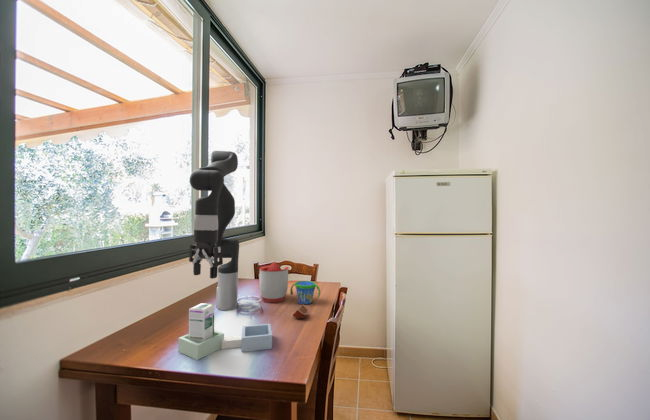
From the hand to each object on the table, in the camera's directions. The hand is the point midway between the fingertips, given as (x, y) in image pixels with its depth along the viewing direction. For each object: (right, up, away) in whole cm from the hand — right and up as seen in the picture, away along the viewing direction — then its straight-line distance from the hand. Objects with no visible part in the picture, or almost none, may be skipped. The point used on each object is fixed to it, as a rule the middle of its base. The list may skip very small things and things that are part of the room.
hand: (205, 276), depth 91 cm
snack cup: (+30, -26, +49) cm, 63 cm away
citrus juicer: (+14, -26, +54) cm, 61 cm away
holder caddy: (+7, -24, +1) cm, 25 cm away
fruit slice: (+30, -26, +28) cm, 48 cm away
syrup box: (-1, -25, -1) cm, 25 cm away
